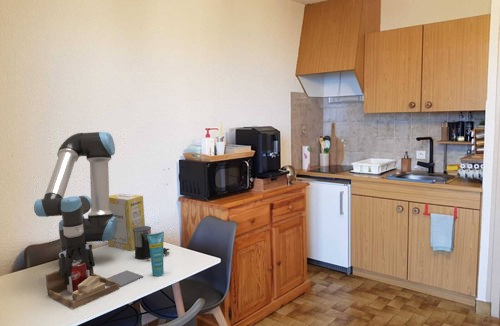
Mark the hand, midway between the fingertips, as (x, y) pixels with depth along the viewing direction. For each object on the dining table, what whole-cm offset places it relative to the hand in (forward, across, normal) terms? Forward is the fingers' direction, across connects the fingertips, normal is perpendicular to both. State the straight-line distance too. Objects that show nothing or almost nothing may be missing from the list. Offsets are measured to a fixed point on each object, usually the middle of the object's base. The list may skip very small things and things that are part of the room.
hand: (79, 287), depth 164 cm
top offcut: (-2, 0, -8) cm, 8 cm away
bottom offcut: (+1, 0, -8) cm, 8 cm away
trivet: (+1, +17, -6) cm, 18 cm away
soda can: (+1, 0, 0) cm, 1 cm away
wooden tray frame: (+1, 0, -4) cm, 4 cm away
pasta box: (+1, +46, +30) cm, 55 cm away
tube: (+1, +29, -16) cm, 33 cm away
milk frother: (+1, +43, +6) cm, 44 cm away
